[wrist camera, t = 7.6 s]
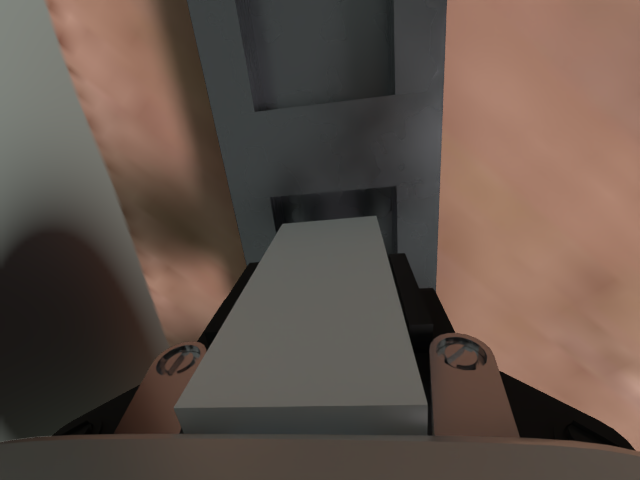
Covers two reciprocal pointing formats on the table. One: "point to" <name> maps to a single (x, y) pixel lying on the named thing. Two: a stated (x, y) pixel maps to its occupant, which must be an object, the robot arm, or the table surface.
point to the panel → (329, 115)
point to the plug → (312, 343)
